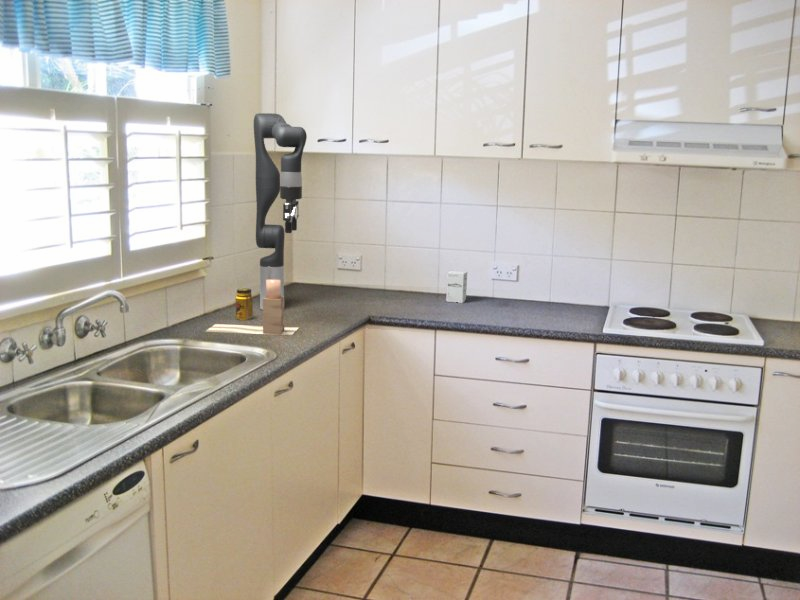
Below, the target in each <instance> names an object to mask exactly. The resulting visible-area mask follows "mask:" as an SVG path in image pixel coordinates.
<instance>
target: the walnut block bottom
mask: <svg viewBox="0 0 800 600" xmlns="http://www.w3.org/2000/svg"><path fill="white" fill-rule="evenodd" d="M262 326H263V334H262V335H273V334H281V333H282V332H283V331H284V327H285V313H284V314H283V315H282V316H281V317H268V316H263V315H262Z"/></svg>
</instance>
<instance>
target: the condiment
mask: <svg viewBox="0 0 800 600" xmlns="http://www.w3.org/2000/svg"><path fill="white" fill-rule="evenodd" d="M252 295H253V294H252V289H251V288H238V289H236V297H235V320H237V321H244V322H245V321H252V320H253V319H254V317H253V316H254V315H253V313H254V311H253V296H252Z"/></svg>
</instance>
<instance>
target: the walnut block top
mask: <svg viewBox="0 0 800 600" xmlns="http://www.w3.org/2000/svg"><path fill="white" fill-rule="evenodd" d="M283 314H284V315H285V295H284V296H281V298H278V299H269V298H266V297H265V298H263V310H262V317H263V316H268V317H281V316H282V315H283Z"/></svg>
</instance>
